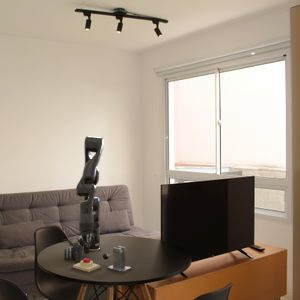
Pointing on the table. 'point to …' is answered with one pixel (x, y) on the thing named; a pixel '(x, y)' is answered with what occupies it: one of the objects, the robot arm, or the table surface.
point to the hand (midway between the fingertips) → (86, 253)
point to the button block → (86, 266)
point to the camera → (74, 252)
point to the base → (119, 260)
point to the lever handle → (105, 256)
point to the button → (86, 260)
